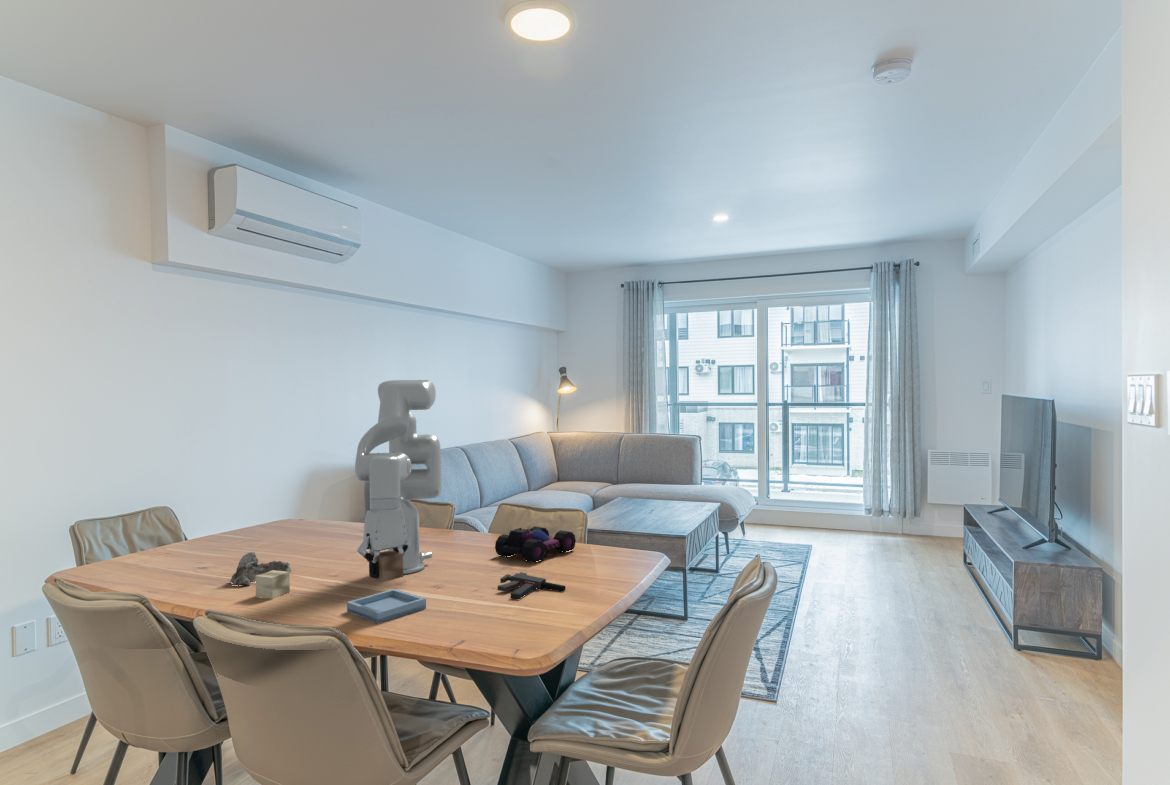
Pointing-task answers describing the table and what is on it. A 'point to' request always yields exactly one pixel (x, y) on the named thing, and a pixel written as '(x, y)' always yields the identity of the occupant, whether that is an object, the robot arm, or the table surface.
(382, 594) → the tray
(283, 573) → the oak cube
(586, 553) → the table surface
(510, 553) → the toy car
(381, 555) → the walnut cube
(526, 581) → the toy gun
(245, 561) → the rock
